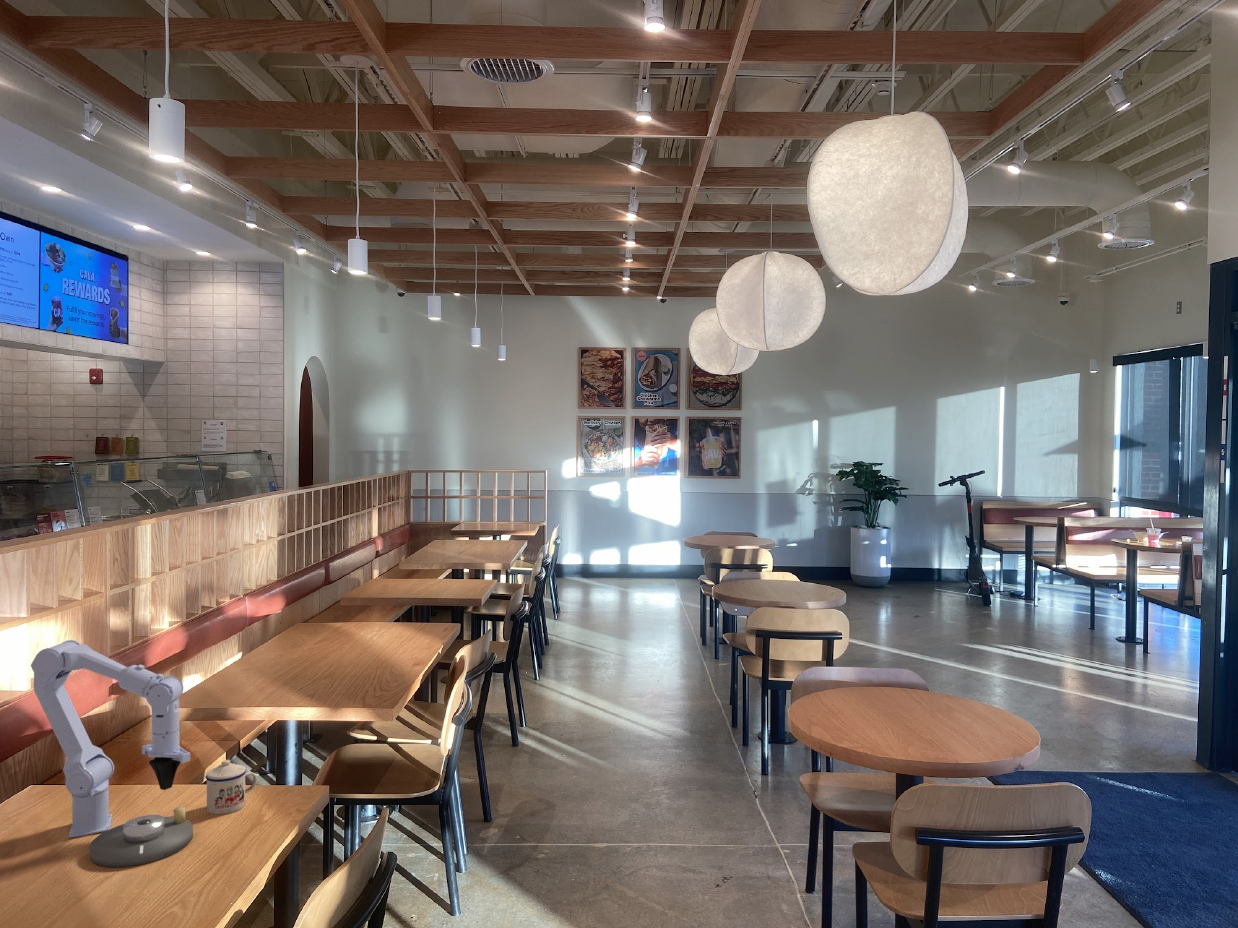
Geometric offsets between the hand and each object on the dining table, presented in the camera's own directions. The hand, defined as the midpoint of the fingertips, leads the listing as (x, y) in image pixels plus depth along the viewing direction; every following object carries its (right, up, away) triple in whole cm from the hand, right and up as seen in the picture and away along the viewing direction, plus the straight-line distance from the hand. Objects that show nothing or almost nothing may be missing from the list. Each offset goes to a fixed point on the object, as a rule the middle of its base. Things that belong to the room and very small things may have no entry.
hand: (166, 788), depth 196 cm
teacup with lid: (+10, -9, +11) cm, 18 cm away
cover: (0, -7, -10) cm, 12 cm away
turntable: (0, -9, -10) cm, 13 cm away
